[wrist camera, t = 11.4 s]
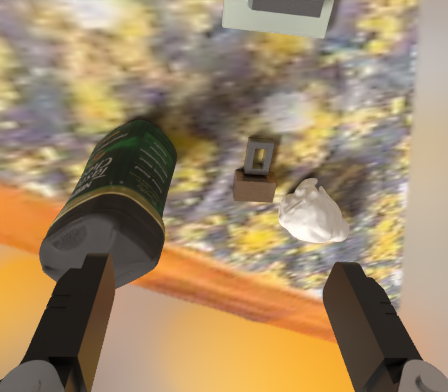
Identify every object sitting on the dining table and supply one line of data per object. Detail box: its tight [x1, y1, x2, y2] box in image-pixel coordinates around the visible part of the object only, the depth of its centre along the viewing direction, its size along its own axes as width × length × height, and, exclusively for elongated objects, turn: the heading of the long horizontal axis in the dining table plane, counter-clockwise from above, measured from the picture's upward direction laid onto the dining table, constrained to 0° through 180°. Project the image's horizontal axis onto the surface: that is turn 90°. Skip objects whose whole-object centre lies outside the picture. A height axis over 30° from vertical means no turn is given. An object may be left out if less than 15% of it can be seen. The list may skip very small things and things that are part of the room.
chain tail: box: [233, 137, 277, 203], centre depth 41 cm, size 5×8×2 cm, turn 174°
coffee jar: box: [39, 120, 177, 289], centre depth 33 cm, size 10×8×19 cm
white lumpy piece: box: [279, 178, 349, 243], centre depth 43 cm, size 6×8×12 cm
